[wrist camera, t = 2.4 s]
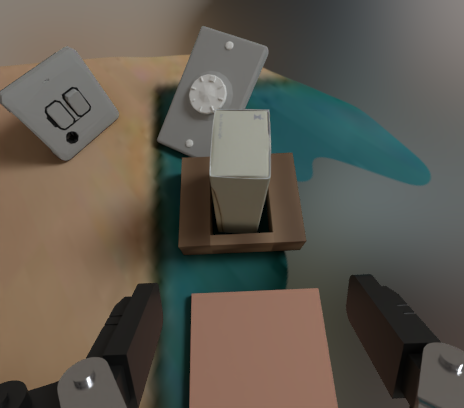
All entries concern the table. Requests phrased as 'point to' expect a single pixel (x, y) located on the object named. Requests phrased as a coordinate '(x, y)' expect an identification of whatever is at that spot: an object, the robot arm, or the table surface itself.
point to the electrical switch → (61, 103)
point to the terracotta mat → (260, 351)
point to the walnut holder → (204, 242)
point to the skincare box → (240, 168)
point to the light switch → (210, 89)
